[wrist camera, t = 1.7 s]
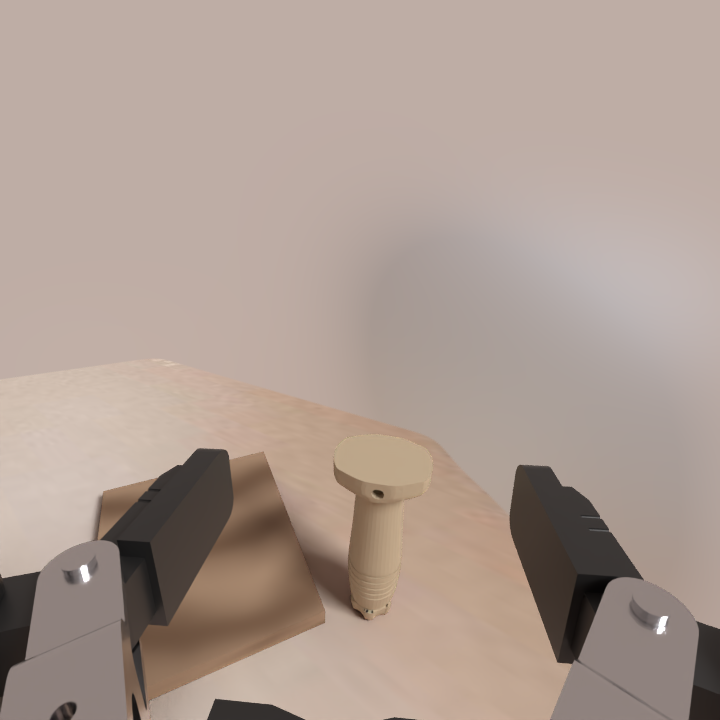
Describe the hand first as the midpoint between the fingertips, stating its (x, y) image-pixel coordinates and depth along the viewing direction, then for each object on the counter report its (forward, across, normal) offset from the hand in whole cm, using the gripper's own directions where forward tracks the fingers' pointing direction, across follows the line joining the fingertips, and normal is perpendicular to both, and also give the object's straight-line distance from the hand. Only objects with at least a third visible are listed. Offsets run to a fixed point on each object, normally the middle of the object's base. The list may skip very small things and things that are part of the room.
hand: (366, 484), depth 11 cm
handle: (+15, +1, +23) cm, 27 cm away
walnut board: (+18, +16, +21) cm, 32 cm away
